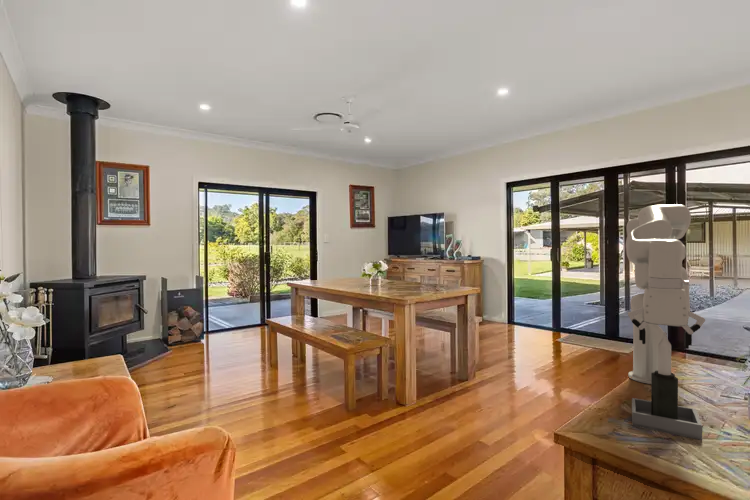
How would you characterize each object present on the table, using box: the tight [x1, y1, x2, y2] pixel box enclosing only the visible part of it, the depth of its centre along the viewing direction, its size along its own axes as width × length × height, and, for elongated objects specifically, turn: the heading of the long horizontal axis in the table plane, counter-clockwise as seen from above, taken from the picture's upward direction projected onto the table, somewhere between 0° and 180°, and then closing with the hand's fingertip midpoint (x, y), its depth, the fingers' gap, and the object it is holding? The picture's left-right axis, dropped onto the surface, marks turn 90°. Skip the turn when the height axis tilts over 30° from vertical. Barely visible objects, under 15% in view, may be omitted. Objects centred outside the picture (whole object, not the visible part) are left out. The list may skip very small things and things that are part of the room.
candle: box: [650, 331, 679, 420], centre depth 110 cm, size 5×5×25 cm
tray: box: [631, 397, 703, 441], centre depth 110 cm, size 12×15×4 cm
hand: (664, 345), depth 110 cm, fingers open, 9 cm apart
